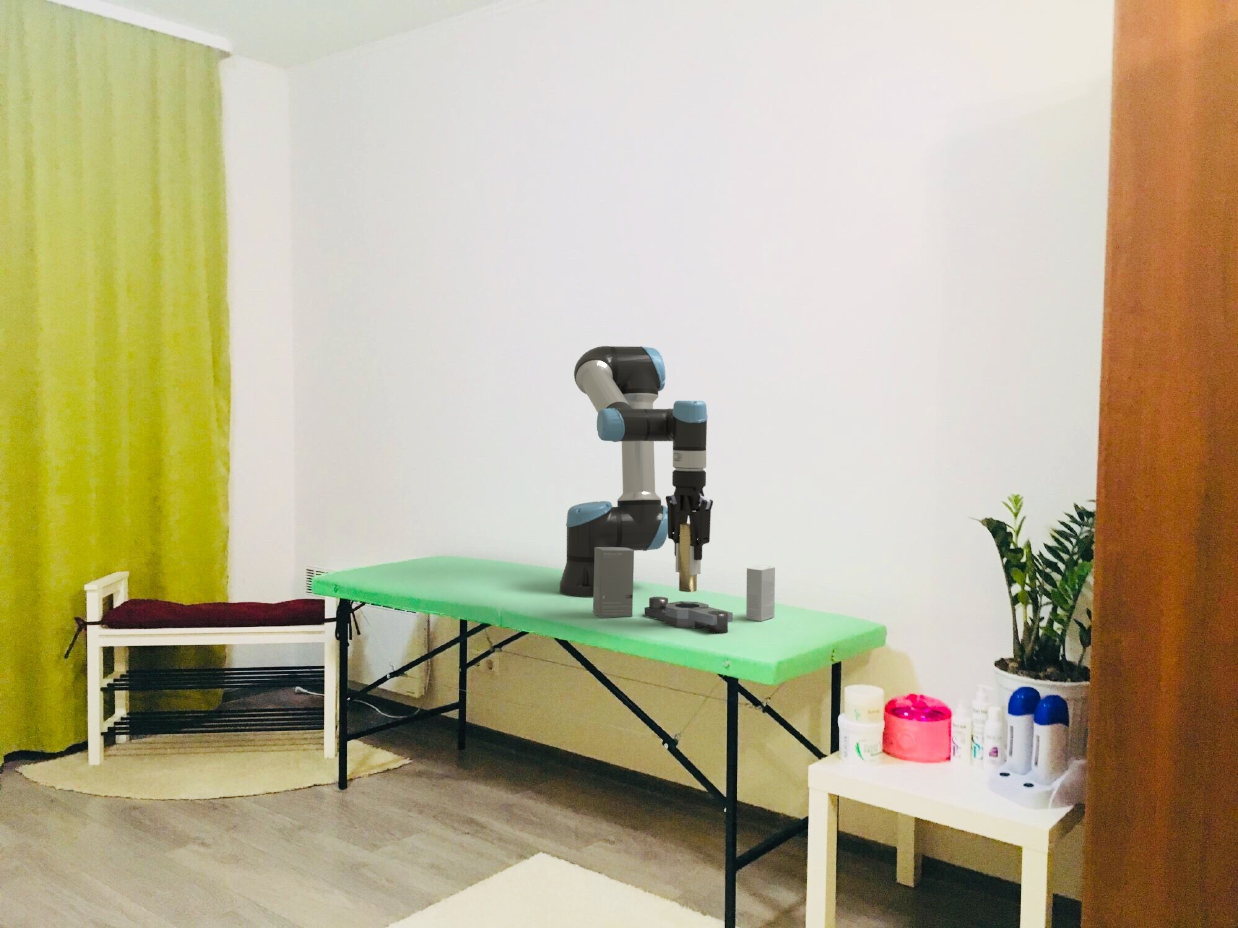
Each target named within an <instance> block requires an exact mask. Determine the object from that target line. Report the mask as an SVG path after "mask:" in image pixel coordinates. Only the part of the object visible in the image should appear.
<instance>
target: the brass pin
mask: <svg viewBox="0 0 1238 928" xmlns="http://www.w3.org/2000/svg"><path fill="white" fill-rule="evenodd" d="M679 536H680V546H679V572H678V591H679V592H681V593H682V592H684V593H693V592H694V593H695V592H697V591H698V589H697V588H698V583H697V582H698V581H697V580H698V574H696V575H689V559H690V546H691V545H690V544H692V536H691V528H690V522H687V523H683V524H680V535H679Z"/></svg>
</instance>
